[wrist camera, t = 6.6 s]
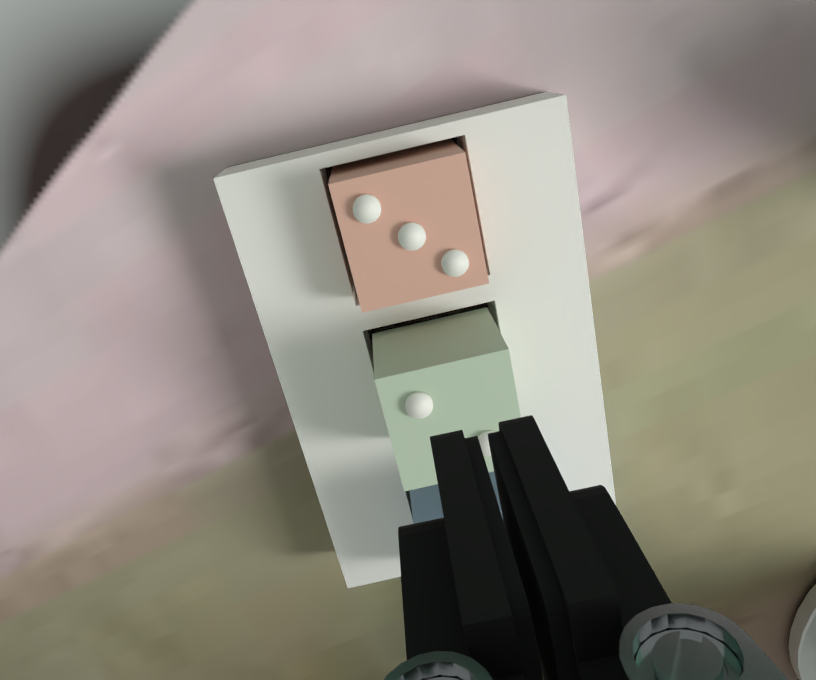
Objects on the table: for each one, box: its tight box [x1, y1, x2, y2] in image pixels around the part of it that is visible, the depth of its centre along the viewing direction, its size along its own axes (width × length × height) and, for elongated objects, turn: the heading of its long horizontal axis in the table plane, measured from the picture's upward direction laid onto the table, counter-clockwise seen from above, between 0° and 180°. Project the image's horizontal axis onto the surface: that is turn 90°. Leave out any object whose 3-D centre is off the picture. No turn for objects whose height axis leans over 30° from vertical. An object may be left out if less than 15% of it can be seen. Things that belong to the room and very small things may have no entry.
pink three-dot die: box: [328, 139, 489, 313], centre depth 24 cm, size 4×4×4 cm
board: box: [213, 92, 616, 588], centre depth 27 cm, size 18×12×2 cm, turn 12°
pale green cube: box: [372, 307, 521, 492], centre depth 24 cm, size 4×4×4 cm
